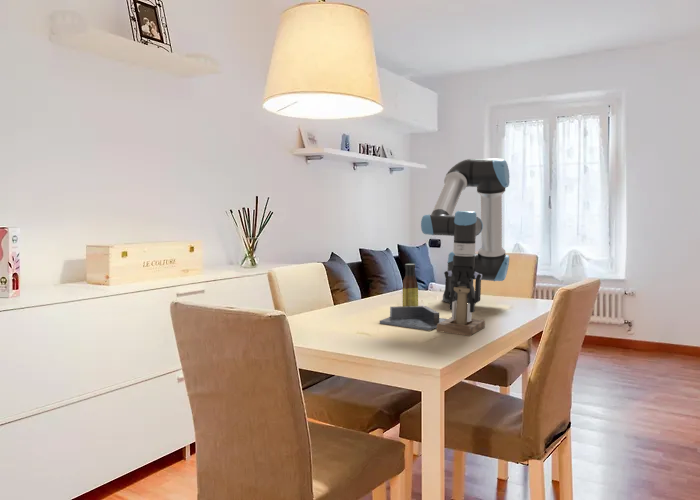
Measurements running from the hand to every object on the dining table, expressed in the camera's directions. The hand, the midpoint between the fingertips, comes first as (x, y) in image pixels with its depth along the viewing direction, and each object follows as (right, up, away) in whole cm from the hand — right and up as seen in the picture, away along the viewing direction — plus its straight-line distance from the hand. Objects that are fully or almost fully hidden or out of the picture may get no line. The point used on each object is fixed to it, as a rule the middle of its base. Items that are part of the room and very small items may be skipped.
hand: (461, 320), depth 203 cm
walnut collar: (0, -3, 0) cm, 3 cm away
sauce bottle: (-15, -1, +27) cm, 31 cm away
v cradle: (-15, -2, +9) cm, 18 cm away
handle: (0, -3, 0) cm, 3 cm away
